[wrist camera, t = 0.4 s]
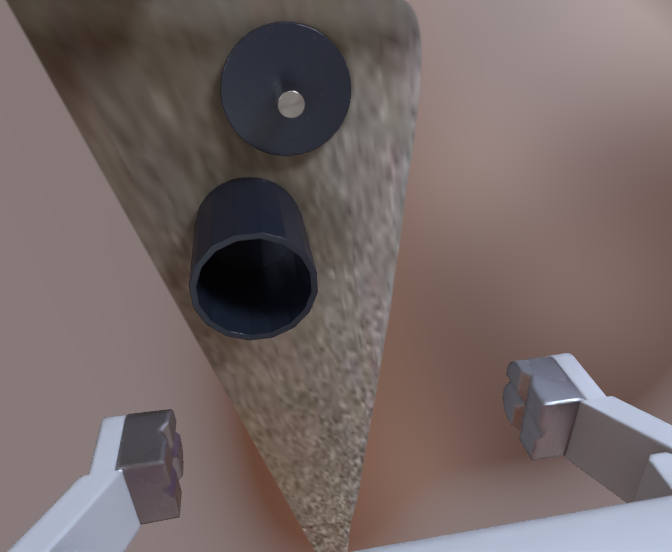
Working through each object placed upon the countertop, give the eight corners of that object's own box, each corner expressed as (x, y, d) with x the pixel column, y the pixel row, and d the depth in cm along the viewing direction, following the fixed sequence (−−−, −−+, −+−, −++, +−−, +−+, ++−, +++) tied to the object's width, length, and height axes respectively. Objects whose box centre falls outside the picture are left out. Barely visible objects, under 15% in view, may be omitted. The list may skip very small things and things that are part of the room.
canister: (187, 182, 58) (179, 241, 47) (298, 172, 59) (314, 227, 49) (204, 276, 64) (201, 346, 53) (304, 265, 65) (320, 331, 55)
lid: (211, 24, 50) (210, 34, 46) (347, 16, 52) (358, 25, 48) (229, 156, 57) (230, 176, 53) (350, 146, 58) (360, 164, 54)
